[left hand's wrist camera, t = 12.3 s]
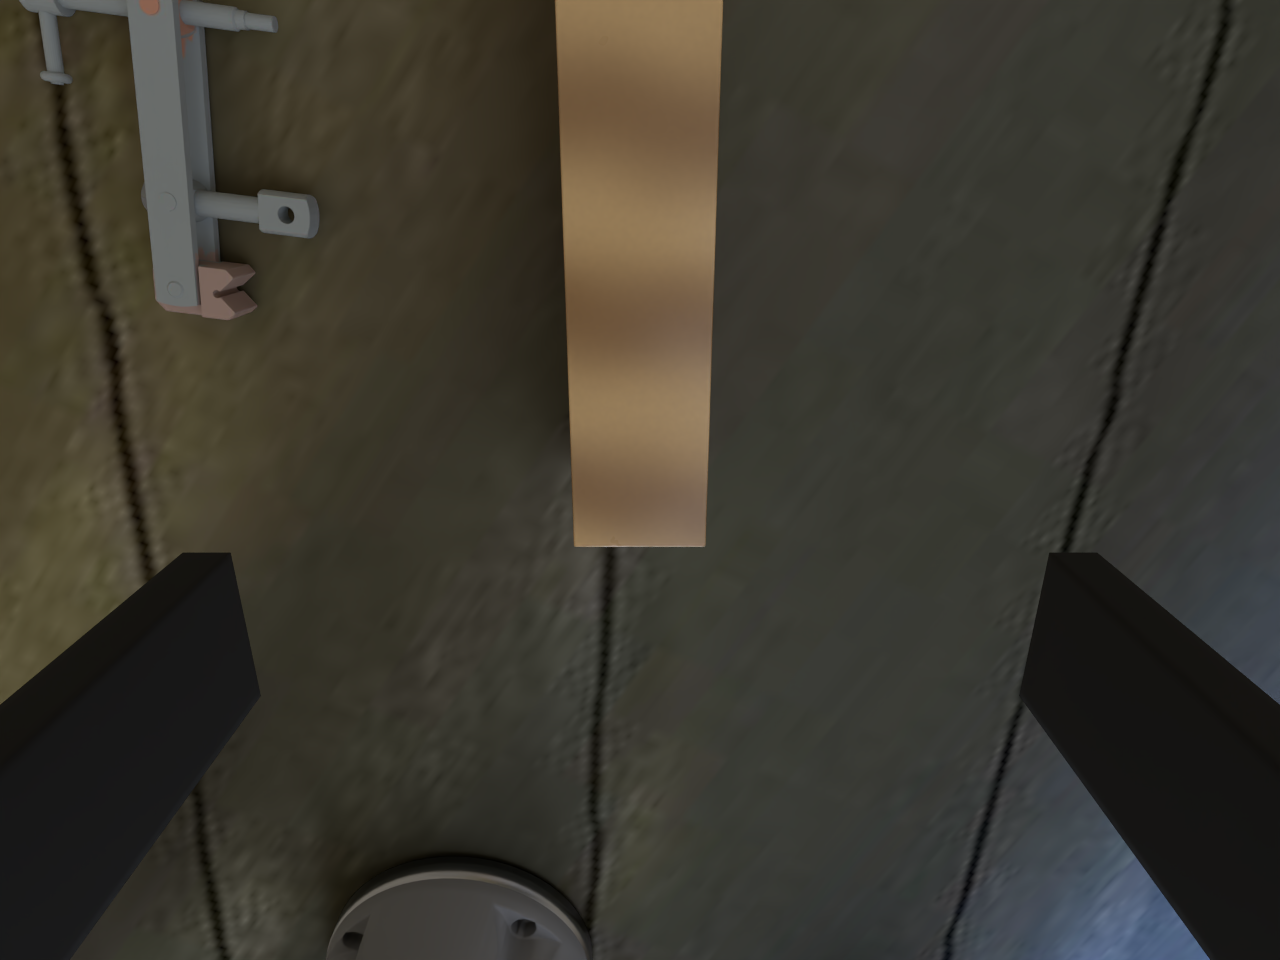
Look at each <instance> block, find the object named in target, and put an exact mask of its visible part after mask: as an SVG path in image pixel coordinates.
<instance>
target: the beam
mask: <svg viewBox="0 0 1280 960" xmlns="http://www.w3.org/2000/svg"><path fill="white" fill-rule="evenodd" d="M555 16H556V45H557V73H558V102H559V131H560V159H561V188H562V216H563V245H564V274H565V302H566V331H567V359H568V388H569V416H570V445H571V474H572V502H573V531H574V546H575V547H704V546H705V545H706V515H707V484H708V453H709V422H710V391H711V360H712V329H713V298H714V267H715V236H716V205H717V174H718V142H719V111H720V80H721V49H722V18H723V0H555Z"/></svg>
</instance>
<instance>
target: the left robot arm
mask: <svg viewBox="0 0 1280 960" xmlns="http://www.w3.org/2000/svg"><path fill="white" fill-rule="evenodd" d="M260 696H261V695H260V690H259V685H258V681H257V676H256V671H255V666H254V662H253V657H252V652H251V647H250V643H249V638H248V633H247V628H246V624H245V619H244V614H243V609H242V605H241V600H240V595H239V590H238V586H237V581H236V576H235V571H234V567H233V562H232V557H231V553H182V554H181V555H179V556H178V557H177V558H176V559H175V560H173V561H172V562H171V563H170V564H169V565H167V566H166V567H165V568H164V569H163V570H161V571H160V572H159V573H158V574H157V575H155V576H154V577H153V578H152V579H151V580H149V581H148V582H147V583H146V584H145V585H143V586H142V587H141V588H140V589H139V590H137V591H136V592H135V593H134V594H133V595H131V596H130V597H129V598H128V599H127V600H125V601H124V602H123V603H122V604H121V605H119V606H118V607H117V608H116V609H115V610H113V611H112V612H111V613H110V614H109V615H107V616H106V617H105V618H104V619H103V620H101V621H100V622H99V623H98V624H97V625H95V626H94V627H93V628H92V629H91V630H89V631H88V632H87V633H86V634H85V635H83V636H82V637H81V638H80V639H79V640H77V641H76V642H75V643H74V644H73V645H71V646H70V647H69V648H68V649H67V650H65V651H64V652H63V653H62V654H61V655H59V656H58V657H57V658H56V659H55V660H53V661H52V662H51V663H50V664H49V665H47V666H46V667H45V668H44V669H43V670H41V671H40V672H39V673H38V674H37V675H35V676H34V677H33V678H32V679H31V680H29V681H28V682H27V683H26V684H25V685H23V686H22V687H21V688H20V689H19V690H17V691H16V692H15V693H14V694H13V695H11V696H10V697H9V698H8V699H7V700H5V701H4V702H3V703H2V704H1V705H0V960H70V959H71V957H72V956H73V954H74V953H75V952H76V950H77V949H78V948H79V946H80V945H81V943H82V942H83V941H84V939H85V938H86V936H87V935H88V934H89V932H90V931H91V930H92V928H93V927H94V925H95V924H96V923H97V921H98V920H99V919H100V917H101V916H102V914H103V913H104V912H105V910H106V909H107V907H108V906H109V905H110V903H111V902H112V901H113V899H114V898H115V896H116V895H117V894H118V892H119V891H120V889H121V888H122V887H123V885H124V884H125V883H126V881H127V880H128V878H129V877H130V876H131V874H132V873H133V872H134V870H135V869H136V867H137V866H138V865H139V863H140V862H141V860H142V859H143V858H144V856H145V855H146V854H147V852H148V851H149V849H150V848H151V847H152V845H153V844H154V843H155V841H156V840H157V838H158V837H159V836H160V834H161V833H162V831H163V830H164V829H165V827H166V826H167V825H168V823H169V822H170V820H171V819H172V818H173V816H174V815H175V813H176V812H177V811H178V809H179V808H180V807H181V805H182V804H183V802H184V801H185V800H186V798H187V797H188V796H189V794H190V793H191V791H192V790H193V789H194V787H195V786H196V784H197V783H198V782H199V780H200V779H201V778H202V776H203V775H204V773H205V772H206V771H207V769H208V768H209V767H210V765H211V764H212V762H213V761H214V760H215V758H216V757H217V755H218V754H219V753H220V751H221V750H222V749H223V747H224V746H225V744H226V743H227V742H228V740H229V739H230V737H231V736H232V735H233V733H234V732H235V731H236V729H237V728H238V726H239V725H240V724H241V722H242V721H243V720H244V718H245V717H246V715H247V714H248V713H249V711H250V710H251V708H252V707H253V706H254V704H255V703H256V702H257V700H258V699H259V697H260ZM1019 696H1020V697H1021V699H1022V700H1023V702H1024V703H1025V704H1026V706H1027V707H1028V708H1029V710H1030V711H1031V713H1032V714H1033V715H1034V717H1035V718H1036V720H1037V721H1038V722H1039V724H1040V725H1041V726H1042V728H1043V729H1044V731H1045V732H1046V733H1047V735H1048V736H1049V737H1050V739H1051V740H1052V742H1053V743H1054V744H1055V746H1056V747H1057V749H1058V750H1059V751H1060V753H1061V754H1062V755H1063V757H1064V758H1065V760H1066V761H1067V762H1068V764H1069V765H1070V767H1071V768H1072V769H1073V771H1074V772H1075V773H1076V775H1077V776H1078V778H1079V779H1080V780H1081V782H1082V783H1083V784H1084V786H1085V787H1086V789H1087V790H1088V791H1089V793H1090V794H1091V796H1092V797H1093V798H1094V800H1095V801H1096V802H1097V804H1098V805H1099V807H1100V808H1101V809H1102V811H1103V812H1104V813H1105V815H1106V816H1107V818H1108V819H1109V820H1110V822H1111V823H1112V825H1113V826H1114V827H1115V829H1116V830H1117V831H1118V833H1119V834H1120V836H1121V837H1122V838H1123V840H1124V841H1125V843H1126V844H1127V845H1128V847H1129V848H1130V849H1131V851H1132V852H1133V854H1134V855H1135V856H1136V858H1137V859H1138V860H1139V862H1140V863H1141V865H1142V866H1143V867H1144V869H1145V870H1146V872H1147V873H1148V874H1149V876H1150V877H1151V878H1152V880H1153V881H1154V883H1155V884H1156V885H1157V887H1158V888H1159V889H1160V891H1161V892H1162V894H1163V895H1164V896H1165V898H1166V899H1167V901H1168V902H1169V903H1170V905H1171V906H1172V907H1173V909H1174V910H1175V912H1176V913H1177V914H1178V916H1179V917H1180V919H1181V920H1182V921H1183V923H1184V924H1185V925H1186V927H1187V928H1188V930H1189V931H1190V932H1191V934H1192V935H1193V936H1194V938H1195V939H1196V941H1197V942H1198V943H1199V945H1200V946H1201V948H1202V949H1203V950H1204V952H1205V953H1206V954H1207V956H1208V957H1209V959H1210V960H1280V705H1279V704H1278V703H1277V702H1276V701H1275V700H1273V699H1272V698H1271V697H1270V696H1269V695H1267V694H1266V693H1265V692H1264V691H1263V690H1261V689H1260V688H1259V687H1258V686H1257V685H1255V684H1254V683H1253V682H1252V681H1251V680H1249V679H1248V678H1247V677H1246V676H1245V675H1243V674H1242V673H1241V672H1240V671H1239V670H1237V669H1236V668H1235V667H1234V666H1233V665H1231V664H1230V663H1229V662H1228V661H1227V660H1225V659H1224V658H1223V657H1222V656H1221V655H1219V654H1218V653H1217V652H1216V651H1215V650H1213V649H1212V648H1211V647H1210V646H1209V645H1207V644H1206V643H1205V642H1204V641H1203V640H1201V639H1200V638H1199V637H1198V636H1197V635H1195V634H1194V633H1193V632H1192V631H1191V630H1189V629H1188V628H1187V627H1186V626H1185V625H1183V624H1182V623H1181V622H1180V621H1179V620H1177V619H1176V618H1175V617H1174V616H1173V615H1171V614H1170V613H1169V612H1168V611H1167V610H1165V609H1164V608H1163V607H1162V606H1161V605H1159V604H1158V603H1157V602H1156V601H1155V600H1153V599H1152V598H1151V597H1150V596H1149V595H1147V594H1146V593H1145V592H1144V591H1143V590H1141V589H1140V588H1139V587H1138V586H1137V585H1135V584H1134V583H1133V582H1132V581H1131V580H1129V579H1128V578H1127V577H1126V576H1125V575H1123V574H1122V573H1121V572H1120V571H1119V570H1117V569H1116V568H1115V567H1114V566H1113V565H1111V564H1110V563H1109V562H1108V561H1107V560H1105V559H1104V558H1103V557H1102V556H1101V555H1099V554H1098V553H1049V557H1048V562H1047V567H1046V571H1045V576H1044V581H1043V586H1042V590H1041V595H1040V600H1039V605H1038V609H1037V614H1036V619H1035V624H1034V628H1033V633H1032V638H1031V643H1030V647H1029V652H1028V657H1027V662H1026V666H1025V671H1024V676H1023V680H1022V685H1021V690H1020V695H1019ZM326 960H592V945H591V940H590V936H589V933H588V931H587V928H586V926H585V924H584V922H583V920H582V918H581V916H580V915H579V914H578V912H577V911H576V909H575V908H574V907H573V906H572V905H571V903H570V902H569V901H568V900H567V899H566V898H565V897H564V896H563V895H562V894H561V893H559V892H558V891H557V890H556V889H554V888H553V887H552V886H550V885H549V884H547V883H546V882H544V881H543V880H541V879H539V878H537V877H535V876H534V875H532V874H530V873H528V872H525V871H523V870H521V869H518V868H515V867H513V866H510V865H507V864H503V863H499V862H496V861H491V860H486V859H480V858H472V857H455V856H450V857H435V858H426V859H421V860H416V861H412V862H408V863H405V864H401V865H399V866H396V867H394V868H391V869H389V870H387V871H385V872H383V873H381V874H379V875H377V876H376V877H374V878H372V879H371V880H369V881H368V882H367V883H365V884H364V885H363V886H362V887H361V888H360V889H358V890H357V891H356V892H355V893H354V894H353V896H352V897H351V898H350V899H349V901H348V902H347V904H346V905H345V907H344V908H343V910H342V912H341V915H340V917H339V919H338V922H337V924H336V927H335V929H334V932H333V934H332V937H331V939H330V942H329V946H328V949H327V956H326Z"/></svg>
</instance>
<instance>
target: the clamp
mask: <svg viewBox="0 0 1280 960" xmlns="http://www.w3.org/2000/svg"><path fill="white" fill-rule="evenodd" d="M19 1H20V2H21V4H22V5H23V6H24V7H25V8H26V9H27V10H28V11H31V12H36V13H39V19H40V26H41V33H42V40H43V47H44V53H45V60H46V67H47V71H42V72H41V73H40V77H41V78H42V79H43V80H45V81H51V83H52V84H59V85H64V83H66V84H70V83H72V81H73V79H72V77H71V76H70V75H68V74H64V67H63V60H62V52H61V45H60V38H59V31H58V24H57V17H56V15H58V16H66V17H70V16H73V14H74V13H75V11H76V10H82V11H89V12H97V13H104V14H111V15H119V16H126V17H128V19H129V30H130V40H131V50H132V60H133V70H134V80H135V90H136V100H137V110H138V120H139V130H140V140H141V150H142V160H143V170H144V180H145V183H144V185H143V187H142V191H141V199H142V202H143V205H144V207H145V209H146V210H147V211H148V220H149V230H150V240H151V250H152V260H153V279H154V289H155V299H156V301H157V302H158V303H159V304H160V305H161V306H162V307H163V308H164V309H165V310H166V311H172V312H180V313H189V314H197V315H202V317H207V318H215V319H223V320H231V319H233V318H236V317H239V316H242V315H245V314H247V313H250V312H252V311H253V310H254V309H255V308H256V307H257V304H256V303H255V302H254V301H253V300H252V299H251V298H250V297H249V296H248V295H247V294H246V293H245V292H244V291H239V290H238V289H237V287H238V286H241V285H244V284H245V283H246V282H247V281H248V280H249V279H250V278H251V277H252V276H253V275H254V274H255V271H254V270H253V269H252V268H251V266H250V265H249V264H241V263H232V262H224V261H222V262H221V261H220V246H219V232H218V218H219V219H227V220H235V221H243V222H251V223H259V229H260V231H261V232H263V233H270V234H278V235H286V236H294V237H302V238H313V237H314V236H315V235H316V234H317V231H318V228H319V208H318V204H317V201H316V199H315V198H314V197H313V196H312V195H307V194H299V193H291V192H283V191H275V190H267V189H262V190H260V191H259V192H258V197H253V196H245V195H237V194H229V193H221V192H216V189H215V174H214V160H213V145H212V131H211V117H210V102H209V88H208V73H207V59H206V45H205V30H204V27H208V28H215V29H222V30H230V31H237V32H239V31H240V30H250V29H252V30H260V31H267V32H275V33H276V32H277V31H278V21H277V18H276V17H275V16H269V15H262V14H255V13H249V12H248V11H244V10H239V9H238V8H237V7H233V6H226V5H219V4H211V3H204V2H203V1H200V0H19ZM289 208H291V209H292V211H293V212H294V216H295V217H294V221H292V220H291V219H290V218H289V215H288V210H289Z"/></svg>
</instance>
